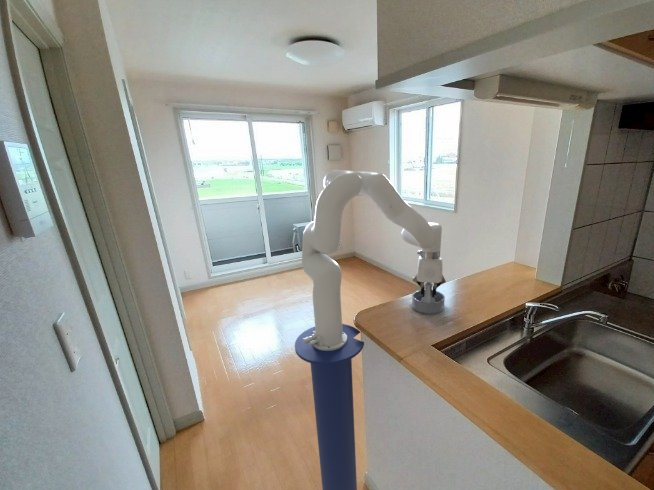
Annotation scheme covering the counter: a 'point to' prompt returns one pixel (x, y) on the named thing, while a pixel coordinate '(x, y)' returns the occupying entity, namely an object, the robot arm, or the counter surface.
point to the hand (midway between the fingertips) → (428, 295)
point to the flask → (428, 294)
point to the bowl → (428, 307)
